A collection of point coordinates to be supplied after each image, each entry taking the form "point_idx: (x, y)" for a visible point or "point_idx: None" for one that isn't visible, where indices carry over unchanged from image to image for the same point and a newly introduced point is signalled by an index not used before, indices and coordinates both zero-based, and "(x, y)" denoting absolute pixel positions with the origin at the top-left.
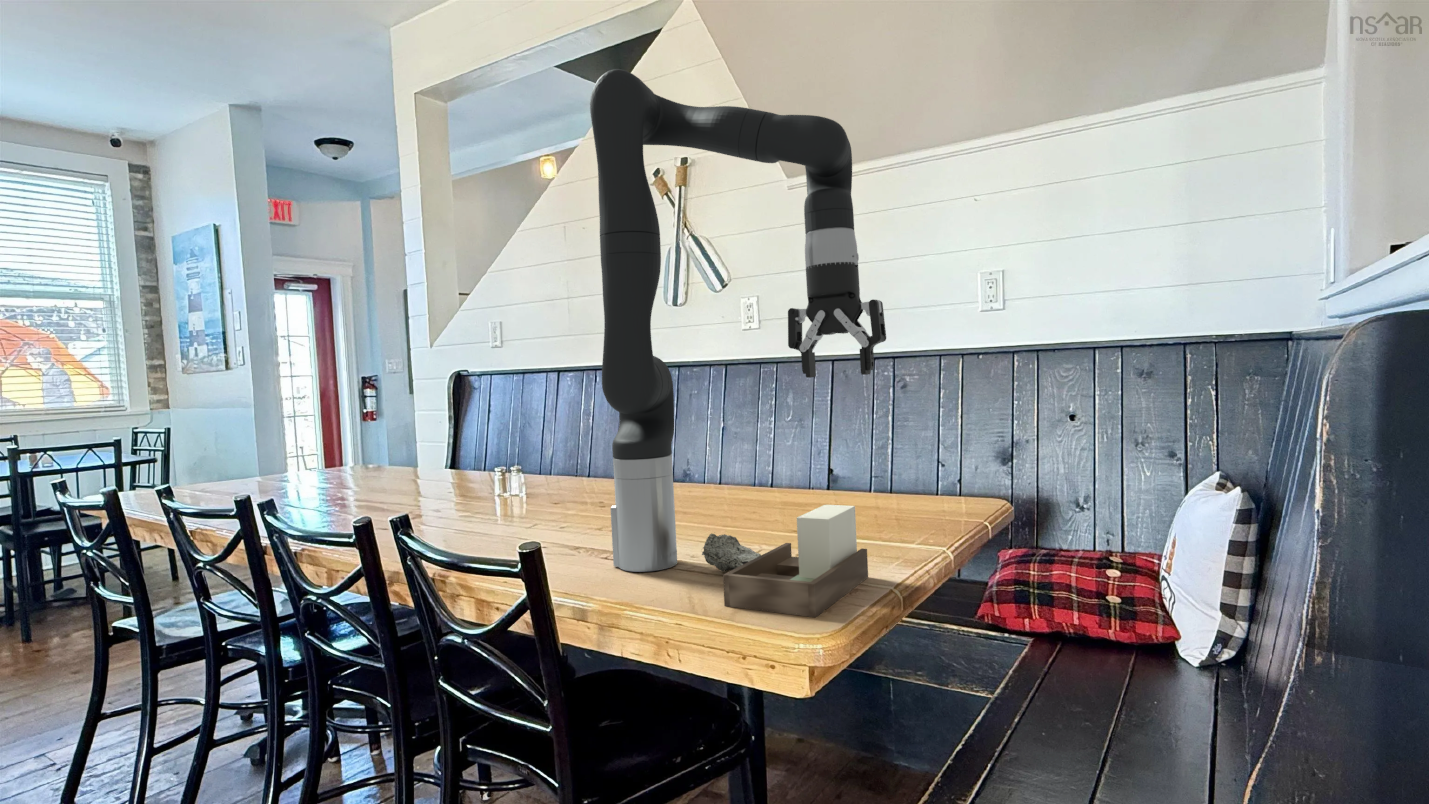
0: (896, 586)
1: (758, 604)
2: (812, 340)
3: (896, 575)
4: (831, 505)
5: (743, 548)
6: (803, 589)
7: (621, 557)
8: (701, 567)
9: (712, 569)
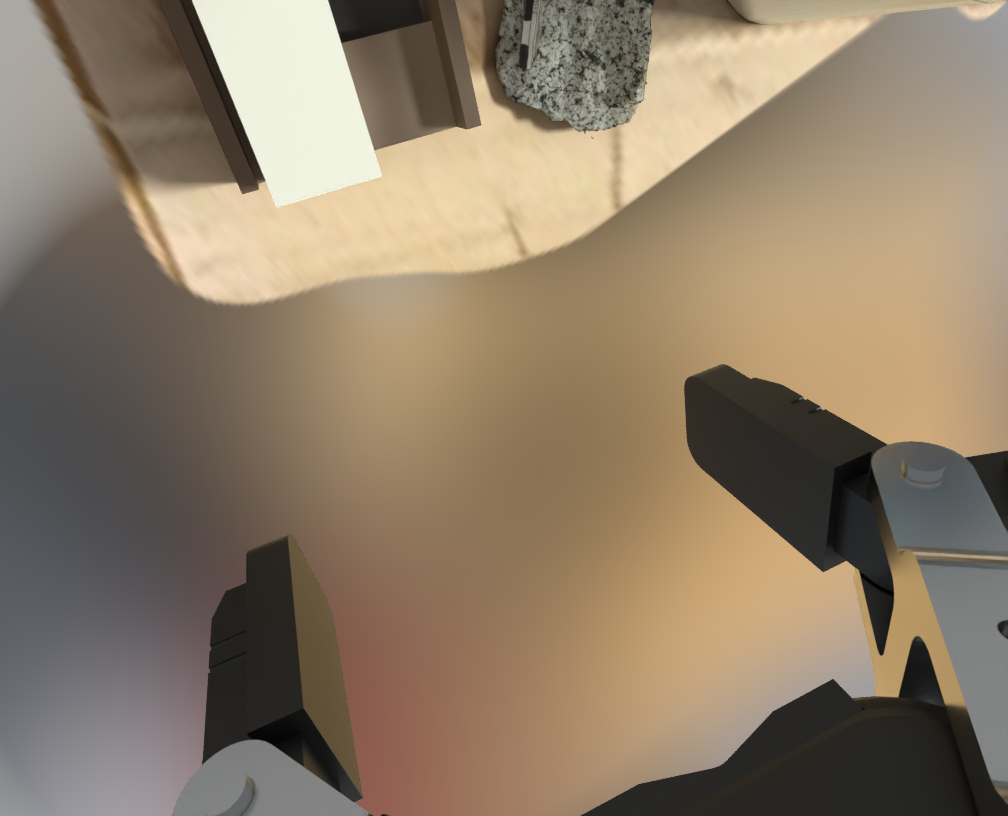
0: (117, 148)
1: None
2: (898, 563)
3: (200, 241)
4: (351, 172)
5: (593, 89)
6: None
7: None
8: None
9: None
